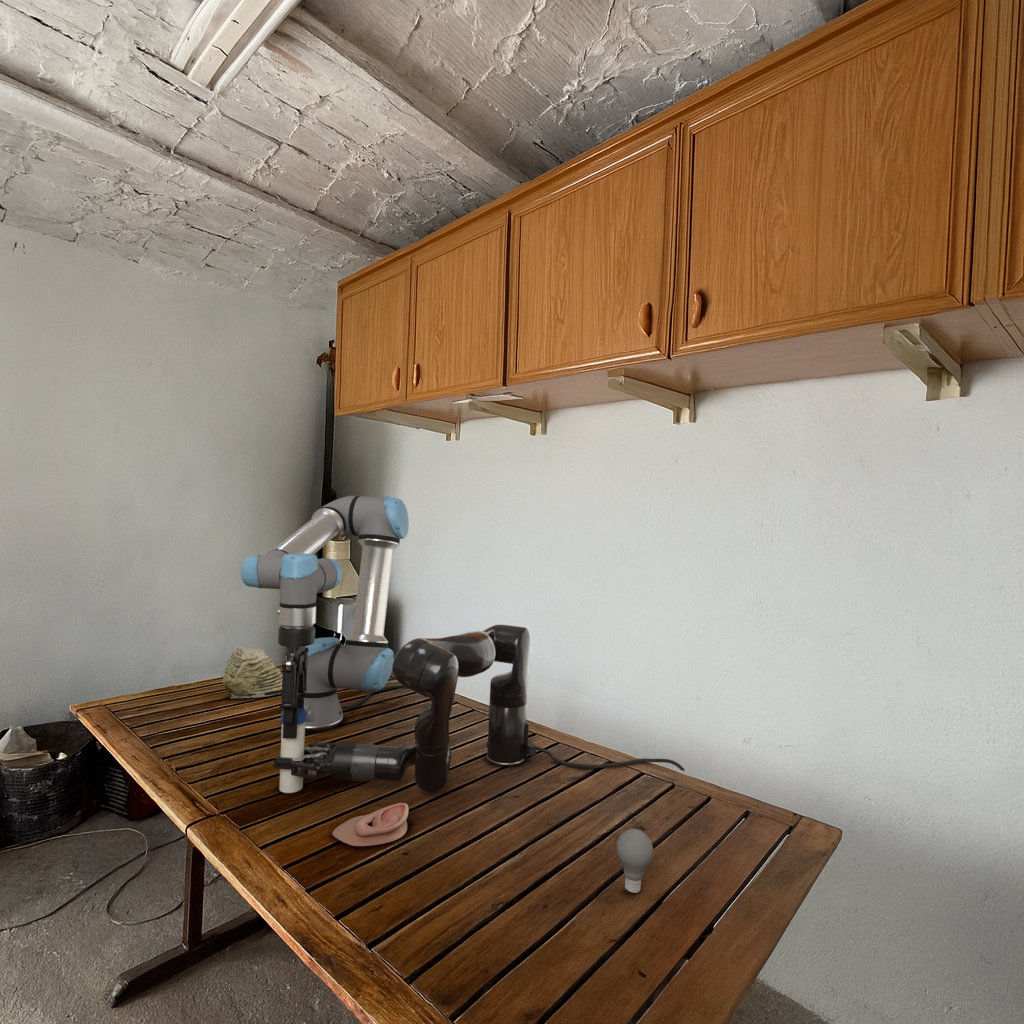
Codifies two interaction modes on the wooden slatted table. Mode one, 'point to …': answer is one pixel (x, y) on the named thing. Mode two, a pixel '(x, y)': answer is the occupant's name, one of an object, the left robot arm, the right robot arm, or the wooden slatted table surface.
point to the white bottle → (292, 750)
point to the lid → (298, 716)
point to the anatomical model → (374, 826)
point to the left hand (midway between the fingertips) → (293, 732)
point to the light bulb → (634, 857)
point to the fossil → (251, 674)
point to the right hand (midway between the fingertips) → (280, 757)
